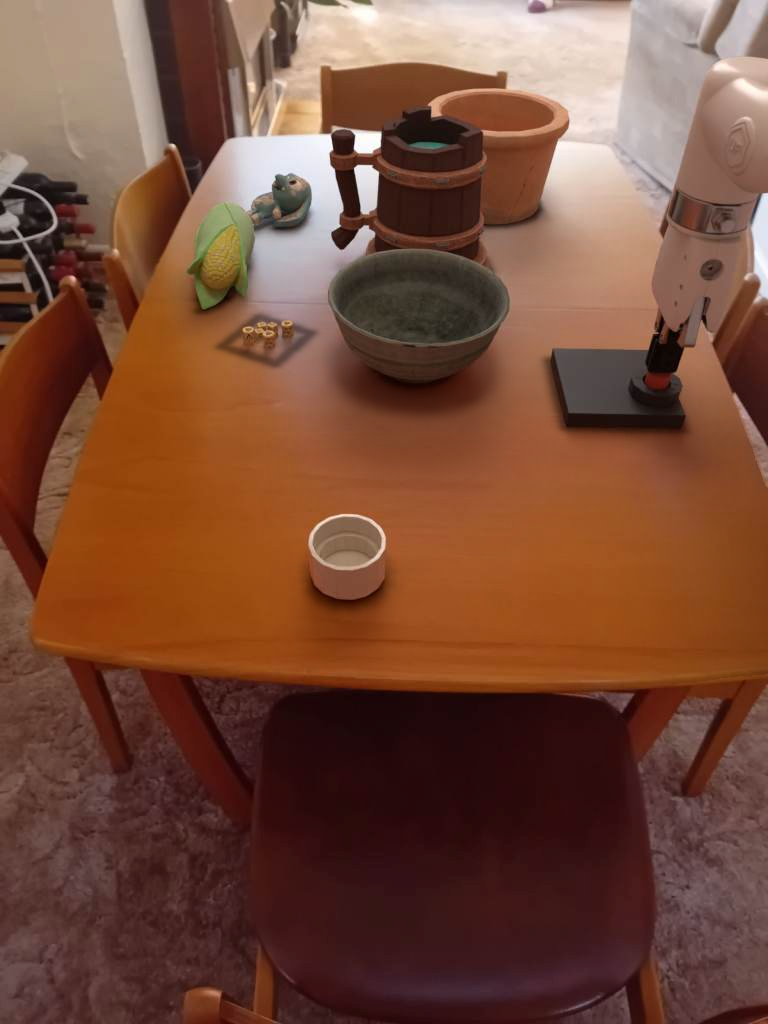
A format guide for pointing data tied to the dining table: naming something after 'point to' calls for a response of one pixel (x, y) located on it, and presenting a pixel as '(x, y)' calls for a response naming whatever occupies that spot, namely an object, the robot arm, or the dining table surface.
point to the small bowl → (347, 556)
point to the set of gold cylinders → (267, 333)
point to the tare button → (657, 380)
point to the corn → (222, 253)
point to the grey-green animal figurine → (283, 201)
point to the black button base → (613, 390)
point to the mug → (416, 186)
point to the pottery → (509, 145)
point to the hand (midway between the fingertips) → (660, 368)
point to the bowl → (418, 311)
